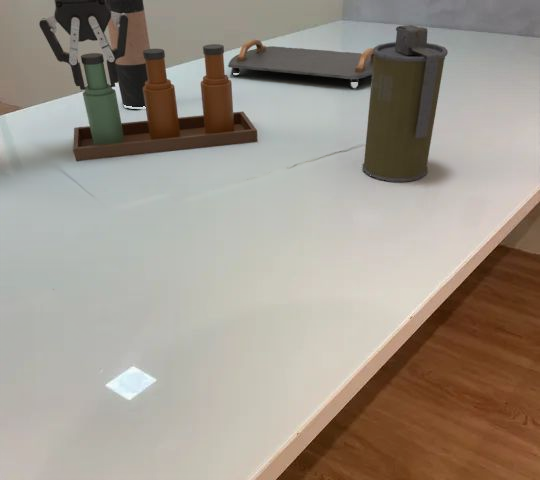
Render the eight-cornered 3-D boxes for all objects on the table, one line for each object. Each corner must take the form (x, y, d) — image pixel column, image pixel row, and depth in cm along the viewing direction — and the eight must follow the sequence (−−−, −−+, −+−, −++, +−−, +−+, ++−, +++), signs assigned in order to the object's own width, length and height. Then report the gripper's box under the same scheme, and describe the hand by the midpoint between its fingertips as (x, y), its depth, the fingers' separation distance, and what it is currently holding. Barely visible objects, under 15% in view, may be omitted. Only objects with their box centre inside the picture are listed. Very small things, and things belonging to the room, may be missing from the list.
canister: (350, 163, 93) (361, 25, 80) (404, 154, 95) (423, 18, 82) (384, 188, 85) (402, 38, 72) (442, 176, 88) (469, 31, 75)
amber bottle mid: (159, 147, 98) (146, 56, 89) (145, 139, 102) (131, 50, 92) (186, 140, 101) (175, 51, 92) (171, 133, 104) (160, 45, 95)
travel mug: (126, 112, 117) (106, -1, 104) (118, 103, 122) (98, -6, 109) (162, 107, 119) (146, -4, 106) (152, 98, 124) (137, -9, 111)
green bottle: (101, 153, 97) (82, 60, 87) (89, 145, 100) (69, 55, 91) (130, 146, 99) (114, 55, 90) (117, 138, 102) (100, 50, 93)
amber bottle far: (215, 141, 100) (207, 51, 91) (199, 133, 104) (191, 46, 94) (240, 135, 103) (235, 46, 93) (224, 127, 106) (218, 41, 97)
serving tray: (217, 76, 138) (215, 48, 134) (258, 56, 154) (258, 30, 150) (367, 92, 125) (369, 61, 121) (396, 68, 140) (399, 40, 136)
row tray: (76, 164, 95) (73, 149, 93) (77, 142, 103) (74, 127, 102) (257, 145, 100) (257, 130, 99) (244, 125, 109) (243, 111, 107)
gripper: (120, -43, 86) (139, 78, 97) (24, -38, 84) (54, 85, 95) (122, -38, 81) (142, 89, 92) (19, -33, 78) (52, 97, 89)
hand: (97, 86), depth 93 cm, fingers closed on green bottle, 4 cm apart
